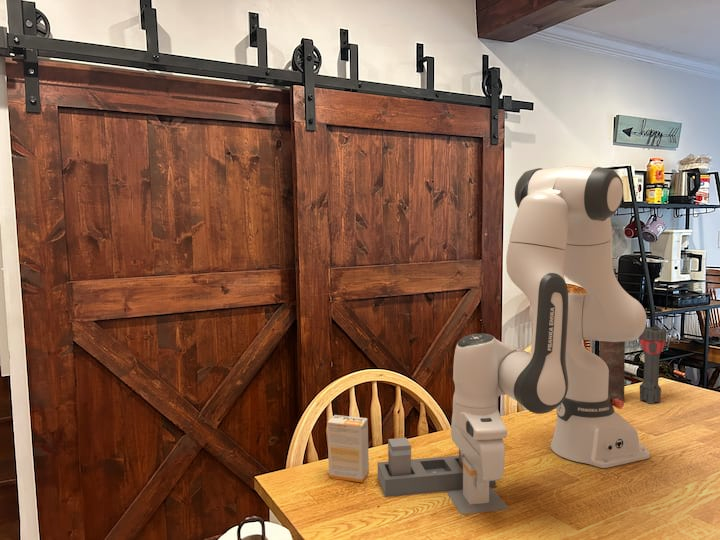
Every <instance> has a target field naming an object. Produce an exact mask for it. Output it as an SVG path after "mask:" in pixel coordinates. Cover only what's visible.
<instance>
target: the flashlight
mask: <svg viewBox="0 0 720 540" xmlns="http://www.w3.org/2000/svg"><path fill="white" fill-rule="evenodd" d="M638 339H639V342H640V346H641V349H642V352H643V354H644V360H643V361H644V362H643V363H644V364H643V365H644V366H643V381H642V383H641V384H640V385H639V400H640V401H641V402H644V401H645V402H646V403H647V404H650V405H653V404H655V403H657V404H658V403H661V392H662V387H660V385H659V375H660V374H659V373H660V355H661V354H662V352H663V349H664V348H665V347H664V346H665V342H666V340H667V328H666V327H662V328H661V327H659V326H656V325H655V326H652V327H651V326H648V325H646V327H645V330H644V332H643V333H642V334H641V336H640V337H639V338H638Z"/></svg>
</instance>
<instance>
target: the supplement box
mask: <svg viewBox="0 0 720 540" xmlns="http://www.w3.org/2000/svg"><path fill="white" fill-rule="evenodd" d="M326 424H327V425H326V426H327V451H328V454H327V455H328V457H327V458H328V477H329V479H337V480H344V481H349V482H356V483H361V484H362V483H364V482H365V480H366V479H367V477H368V476H369V473H370V465H369V464H370V463H369V456H370V455H369V426H368V424H369V422H368V418H367V417H360V416H359V417H358V416H351V415H349V416H347V415H340V414H334V415H333V416H332V417H330V419H329V420H328V421H327V422H326Z"/></svg>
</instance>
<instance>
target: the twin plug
mask: <svg viewBox="0 0 720 540" xmlns="http://www.w3.org/2000/svg"><path fill="white" fill-rule="evenodd" d="M387 442H388V443H387V449H388V450H387V452H388V454H387V455H388V456H387V462H388V474H389V476H401V475H411V459H412V445H411V443H410V441H409V440H408V438H407V437H399V438H388V439H387Z"/></svg>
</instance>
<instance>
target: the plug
mask: <svg viewBox="0 0 720 540" xmlns="http://www.w3.org/2000/svg"><path fill="white" fill-rule="evenodd" d="M477 476H478V475H477V471H476V470H475V468H474V467H473V466H472V465H471V463H470V462H469V461H468V460H467V458H466V457H463V495H464V497H465V498H466V500H467V501H468V502H469V504H470V505H471V504H481V503H489V481H487V482H486V490H485V491H478V490H477V488H476V487H475V479H477Z"/></svg>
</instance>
